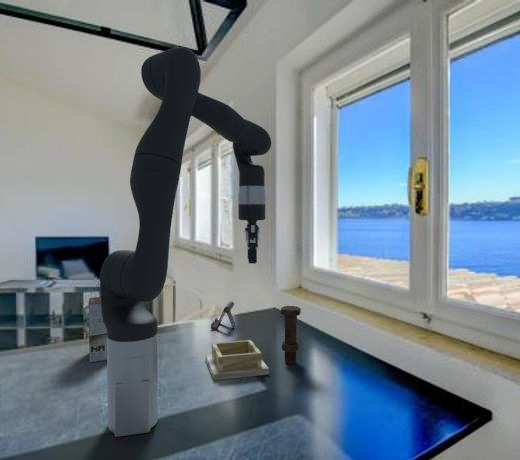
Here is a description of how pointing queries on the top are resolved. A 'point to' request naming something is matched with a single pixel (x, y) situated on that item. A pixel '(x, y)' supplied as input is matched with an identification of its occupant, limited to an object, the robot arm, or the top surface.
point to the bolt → (290, 332)
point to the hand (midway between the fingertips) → (252, 261)
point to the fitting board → (235, 360)
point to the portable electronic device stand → (226, 310)
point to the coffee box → (97, 331)
